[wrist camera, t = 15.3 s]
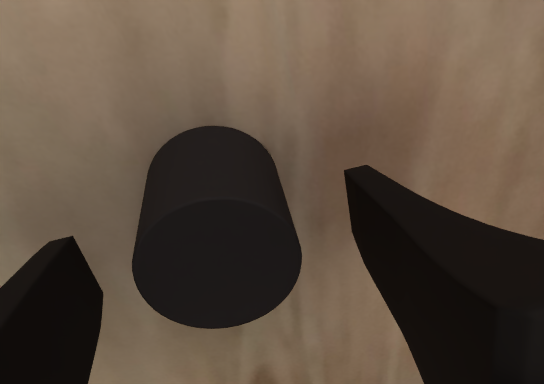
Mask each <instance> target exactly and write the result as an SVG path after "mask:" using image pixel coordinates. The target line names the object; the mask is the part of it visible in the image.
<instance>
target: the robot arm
mask: <svg viewBox="0 0 544 384" xmlns="http://www.w3.org/2000/svg"><path fill="white" fill-rule="evenodd" d="M344 175H345V182H346V190H347V197H348V205H349V213H350V220H351V228H352V233H353V236H354V239H355V241H356V244H357V247H358V249H359V252H360V254H361V257H362V259H363V262H364V264H365V266H366V268H367V270H368V271H369V273H370V275H371V277H372V279H373V281H374V282H375V284H376V286H377V288H378V290H379V291H380V293H381V295H382V297H383V299H384V301H385V302H386V304H387V306H388V308H389V310H390V311H391V313H392V315H393V317H394V319H395V320H396V322H397V324H398V326H399V328H400V330H401V332H402V334H403V336H404V338H405V340H406V342H407V344H408V346H409V348H410V351H411V353H412V356H413V358H414V360H415V363H416V365H417V367H418V370H419V372H420V375H421V377H422V379H423V382H424V384H544V240H542V239H537V238H533V237H529V236H525V235H522V234H518V233H515V232H511V231H507V230H504V229H500V228H497V227H494V226H491V225H488V224H485V223H482V222H480V221H477V220H474V219H471V218H469V217H466V216H463V215H461V214H458V213H456V212H454V211H451V210H449V209H447V208H445V207H443V206H440V205H438V204H436V203H434V202H432V201H430V200H428V199H426V198H424V197H422V196H420V195H418V194H416V193H414V192H413V191H411V190H409V189H407V188H405V187H404V186H402V185H400V184H398V183H397V182H395V181H393V180H392V179H390V178H388V177H387V176H385V175H383V174H382V173H380V172H378V171H377V170H375V169H373V168H372V167H370V166H368V165H364V166H359V167H355V168H351V169H347V170H344ZM102 306H103V291H102V290H101V288H100V286H99V284H98V282H97V280H96V278H95V276H94V275H93V273H92V271H91V269H90V267H89V265H88V263H87V261H86V260H85V258H84V256H83V254H82V252H81V250H80V248H79V246H78V245H77V243H76V241H75V239H74V237H73V236H70V237H66V238H62V239H57V240H53V241H50V242H48V243H47V244H46V245H45V246H43V247H42V248H41V249H40V250H39V251H38V252H37V253H36V254H35V255H34V256H32V257H31V258H30V259H29V260H28V261H27V262H26V263H25V264H24V265H23V266H22V267H21V268H20V269H19V270H18V271H17V272H16V273H15V274H14V275H13V276H12V277H11V278H10V279H9V280H8V281H7V282H6V283H5V284H4V285H3V286H2V287H1V288H0V384H88V381H89V377H90V373H91V368H92V364H93V360H94V356H95V351H96V347H97V342H98V338H99V333H100V328H101V319H102Z"/></svg>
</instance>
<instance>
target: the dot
mask: <svg viewBox="0 0 544 384" xmlns="http://www.w3.org/2000/svg"><path fill="white" fill-rule="evenodd" d="M301 264H302V253H301V246H300V243H299V240H298V236H297V233H296V230H295V227H294V224H293V220H292V217H291V214H290V211H289V208H288V205H287V201H286V198H285V195H284V192H283V189H282V185H281V182H280V179H279V176H278V173H277V169H276V166H275V163H274V161H273V159H272V157H271V156H270V154H269V153H268V151H267V150H266V149H265V148H264V147H263V145H262V144H260V143H259V142H258V141H257V140H256V139H254V138H253V137H251V136H250V135H248V134H246V133H244V132H241V131H239V130H236V129H233V128H228V127H221V126H205V127H199V128H194V129H191V130H188V131H185V132H183V133H181V134H179V135H177V136H175V137H174V138H172V139H171V140H169V141H168V142H167V143H166V144H165V145H164V146H163V147H162V148H161V149H160V150H159V151H158V152H157V154H156V155H155V157H154V158H153V160H152V162H151V164H150V167H149V170H148V175H147V180H146V186H145V191H144V197H143V202H142V208H141V214H140V219H139V225H138V230H137V236H136V242H135V247H134V253H133V259H132V272H133V277H134V281H135V283H136V286H137V288H138V290H139V292H140V294H141V295H142V297H143V298H144V299H145V301H146V302H147V303H148V304H149V305H150V306H151V307H152V308H153V309H154V310H156V311H157V312H158V313H160V314H161V315H163V316H164V317H166V318H168V319H170V320H172V321H175V322H177V323H180V324H183V325H187V326H191V327H197V328H207V329H219V328H228V327H233V326H238V325H242V324H245V323H248V322H251V321H253V320H256V319H258V318H260V317H262V316H264V315H266V314H267V313H269V312H270V311H272V310H273V309H274V308H276V307H277V306H278V305H279V304H280V303H281V302H282V301H283V300H284V299H285V298H286V297H287V296H288V295H289V293H290V292H291V290H292V289H293V287H294V285H295V283H296V281H297V279H298V276H299V273H300V269H301Z"/></svg>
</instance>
